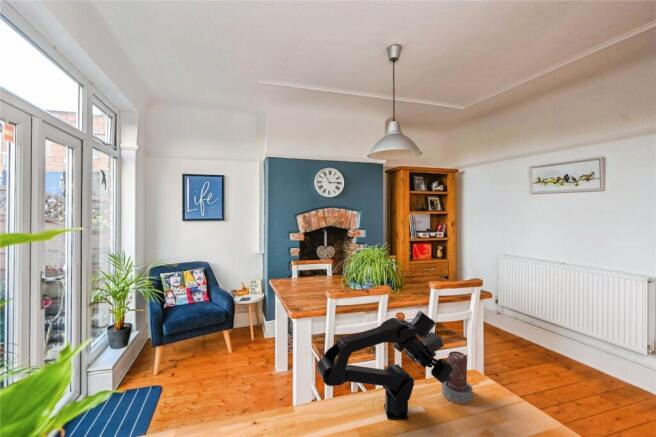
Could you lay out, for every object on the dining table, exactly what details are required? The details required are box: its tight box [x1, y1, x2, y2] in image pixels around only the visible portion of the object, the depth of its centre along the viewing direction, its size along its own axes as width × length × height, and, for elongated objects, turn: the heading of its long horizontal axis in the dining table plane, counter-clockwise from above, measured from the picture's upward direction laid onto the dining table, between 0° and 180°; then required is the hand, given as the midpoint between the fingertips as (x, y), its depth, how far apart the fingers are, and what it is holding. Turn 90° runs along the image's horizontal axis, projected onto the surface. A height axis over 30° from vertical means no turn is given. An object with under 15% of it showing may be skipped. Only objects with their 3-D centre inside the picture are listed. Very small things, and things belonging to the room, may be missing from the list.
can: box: [447, 350, 468, 392], centre depth 106 cm, size 6×6×14 cm
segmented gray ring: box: [441, 382, 473, 406], centre depth 106 cm, size 10×10×4 cm
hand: (440, 373), depth 103 cm, fingers open, 9 cm apart
